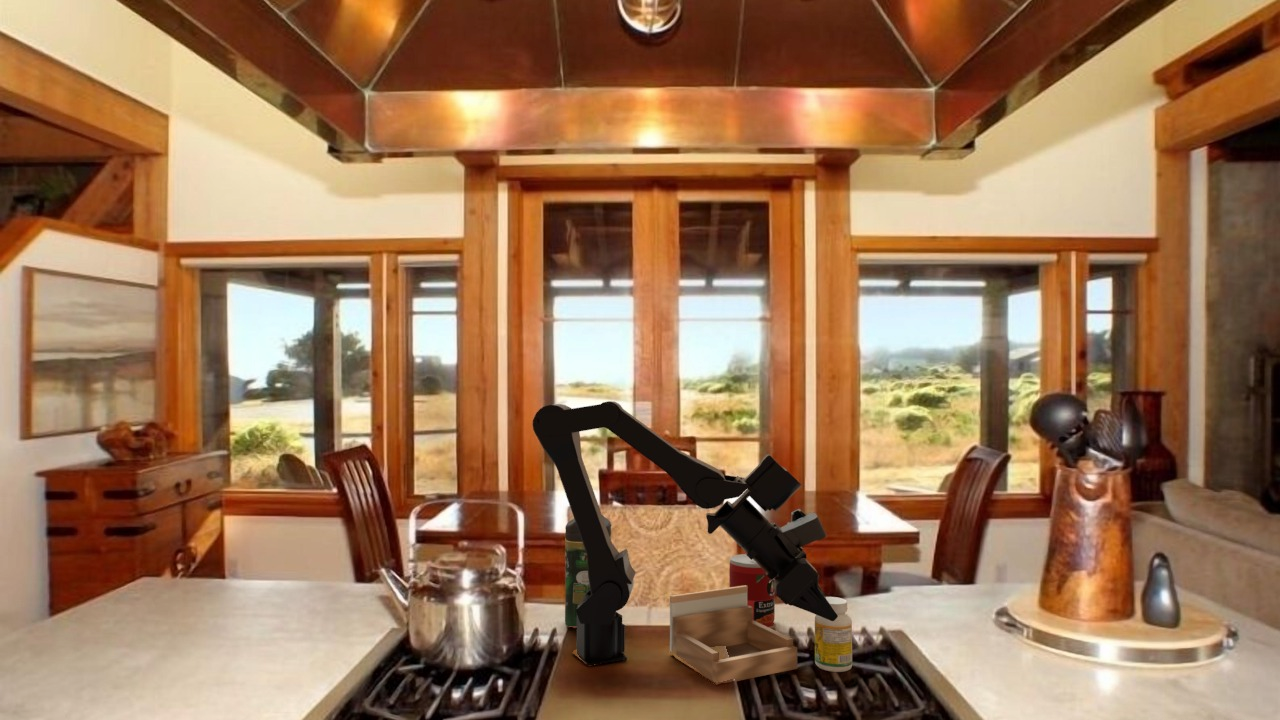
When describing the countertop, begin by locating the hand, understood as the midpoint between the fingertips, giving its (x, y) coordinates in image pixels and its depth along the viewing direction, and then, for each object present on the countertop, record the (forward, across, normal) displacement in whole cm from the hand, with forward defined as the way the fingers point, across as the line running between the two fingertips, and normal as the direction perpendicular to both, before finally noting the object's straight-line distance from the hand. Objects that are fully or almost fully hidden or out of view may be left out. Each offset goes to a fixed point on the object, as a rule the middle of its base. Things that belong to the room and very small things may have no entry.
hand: (830, 609), depth 112 cm
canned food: (-1, +20, +13) cm, 24 cm away
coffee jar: (-22, +16, +33) cm, 43 cm away
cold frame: (-4, 0, +16) cm, 16 cm away
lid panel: (-7, +6, +18) cm, 20 cm away
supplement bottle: (+6, 0, +6) cm, 8 cm away
